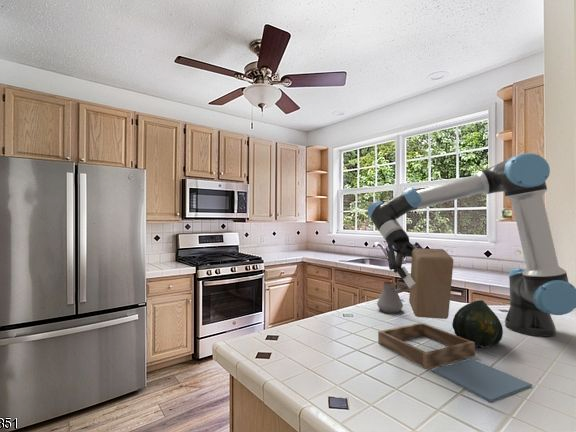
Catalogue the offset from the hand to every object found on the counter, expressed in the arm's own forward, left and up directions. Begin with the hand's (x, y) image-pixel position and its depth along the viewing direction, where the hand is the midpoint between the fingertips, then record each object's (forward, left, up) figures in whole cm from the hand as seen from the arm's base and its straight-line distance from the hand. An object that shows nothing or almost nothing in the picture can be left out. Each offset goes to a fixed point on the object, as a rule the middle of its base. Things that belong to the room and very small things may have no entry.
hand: (428, 284), depth 99 cm
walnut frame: (0, -3, -22) cm, 22 cm away
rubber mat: (+2, +17, -22) cm, 28 cm away
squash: (-20, +1, -22) cm, 30 cm away
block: (-1, -2, -9) cm, 10 cm away
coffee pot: (-20, -36, -22) cm, 46 cm away
